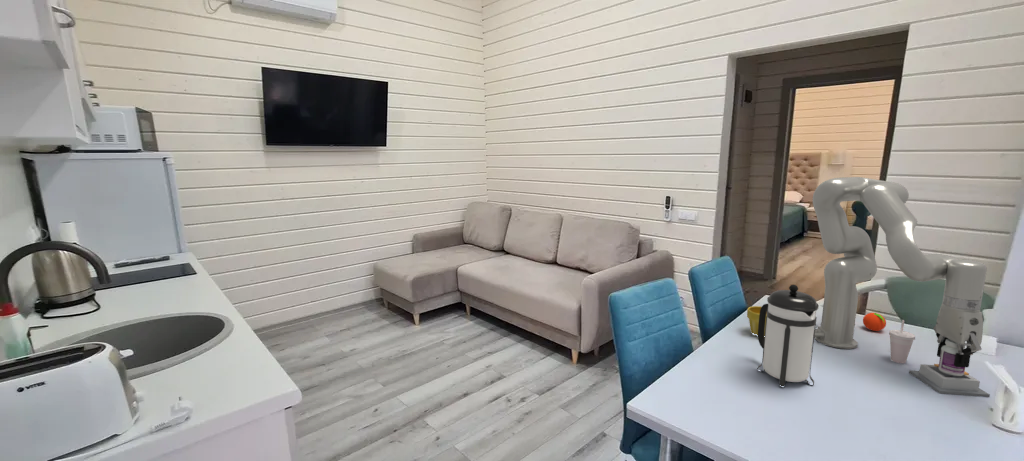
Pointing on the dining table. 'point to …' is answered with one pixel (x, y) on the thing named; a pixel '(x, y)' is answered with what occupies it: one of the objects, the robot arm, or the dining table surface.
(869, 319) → the clementine
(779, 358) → the coffee press
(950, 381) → the socket
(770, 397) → the dining table surface
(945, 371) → the pill bottle
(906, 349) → the smoothie
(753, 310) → the plant pot
